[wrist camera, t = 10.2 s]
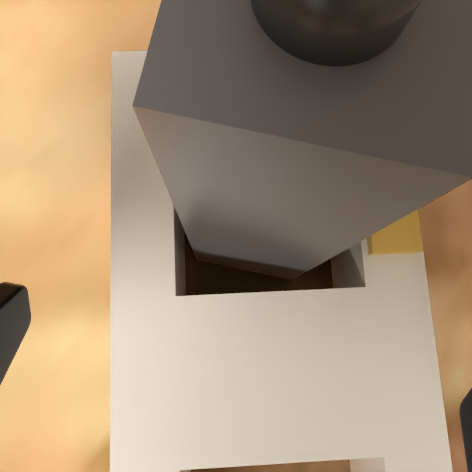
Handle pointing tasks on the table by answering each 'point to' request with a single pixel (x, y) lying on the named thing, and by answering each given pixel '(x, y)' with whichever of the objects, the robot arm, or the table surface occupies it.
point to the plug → (305, 121)
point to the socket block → (261, 343)
